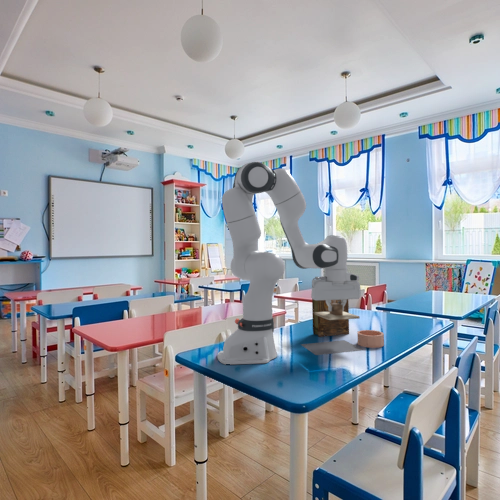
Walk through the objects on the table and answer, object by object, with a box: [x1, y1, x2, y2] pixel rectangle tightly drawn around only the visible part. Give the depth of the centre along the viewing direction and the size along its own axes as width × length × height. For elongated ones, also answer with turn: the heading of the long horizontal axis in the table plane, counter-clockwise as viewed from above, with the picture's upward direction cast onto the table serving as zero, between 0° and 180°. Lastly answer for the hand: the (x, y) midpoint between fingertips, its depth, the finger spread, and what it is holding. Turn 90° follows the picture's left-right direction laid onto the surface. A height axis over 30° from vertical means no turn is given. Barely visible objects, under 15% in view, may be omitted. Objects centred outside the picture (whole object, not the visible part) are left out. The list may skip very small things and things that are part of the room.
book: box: [311, 298, 350, 338], centre depth 159 cm, size 16×6×25 cm, turn 105°
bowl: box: [356, 329, 385, 349], centre depth 141 cm, size 10×10×5 cm
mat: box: [300, 340, 364, 356], centre depth 138 cm, size 20×15×1 cm
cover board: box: [314, 303, 360, 320], centre depth 138 cm, size 13×13×5 cm
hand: (336, 310), depth 138 cm, fingers closed on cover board, 3 cm apart
